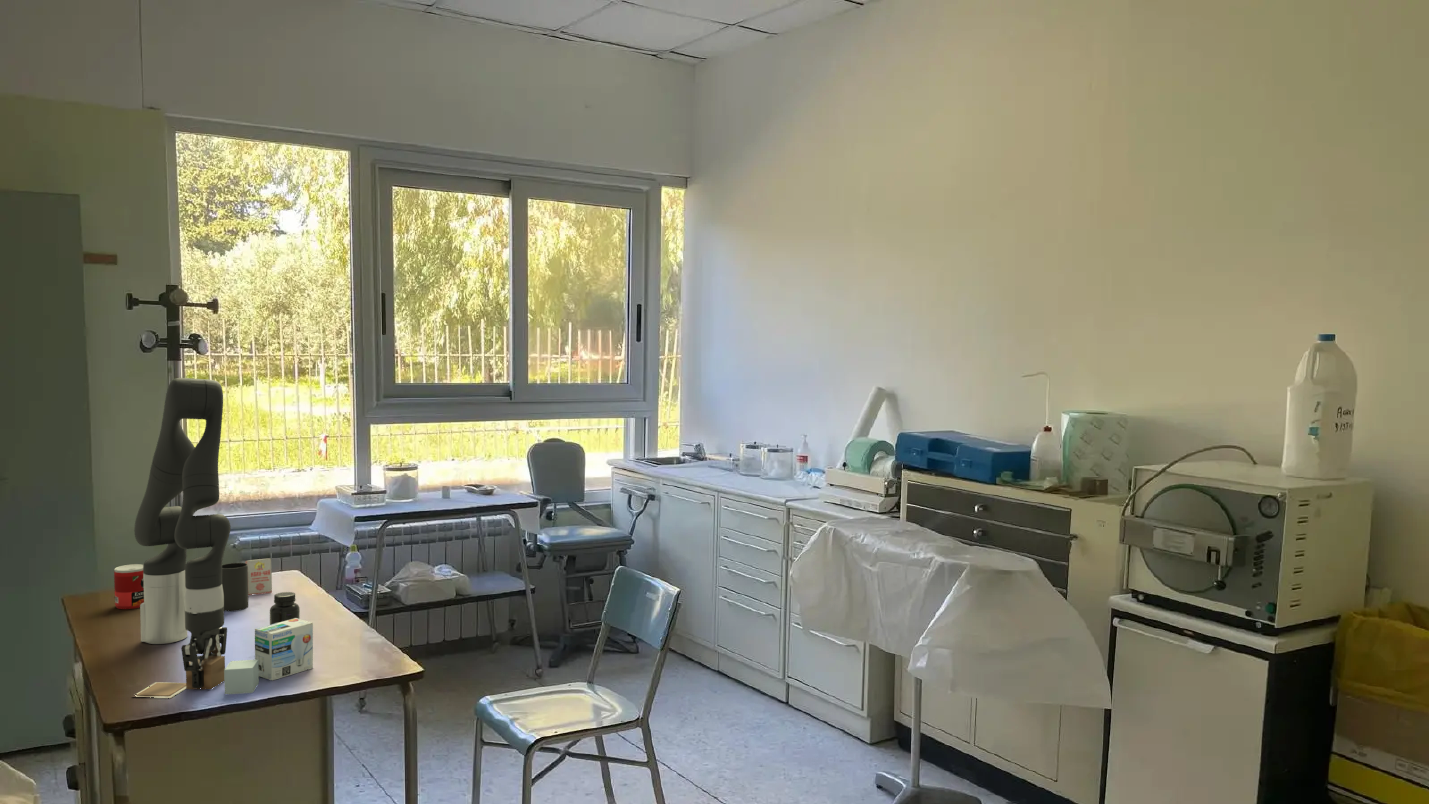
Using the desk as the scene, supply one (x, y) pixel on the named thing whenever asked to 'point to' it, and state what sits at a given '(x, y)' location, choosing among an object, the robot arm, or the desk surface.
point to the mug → (235, 586)
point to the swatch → (162, 690)
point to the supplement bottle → (284, 608)
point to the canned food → (129, 586)
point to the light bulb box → (284, 648)
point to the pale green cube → (241, 676)
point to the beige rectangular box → (259, 576)
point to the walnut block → (209, 672)
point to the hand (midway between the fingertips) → (205, 682)
